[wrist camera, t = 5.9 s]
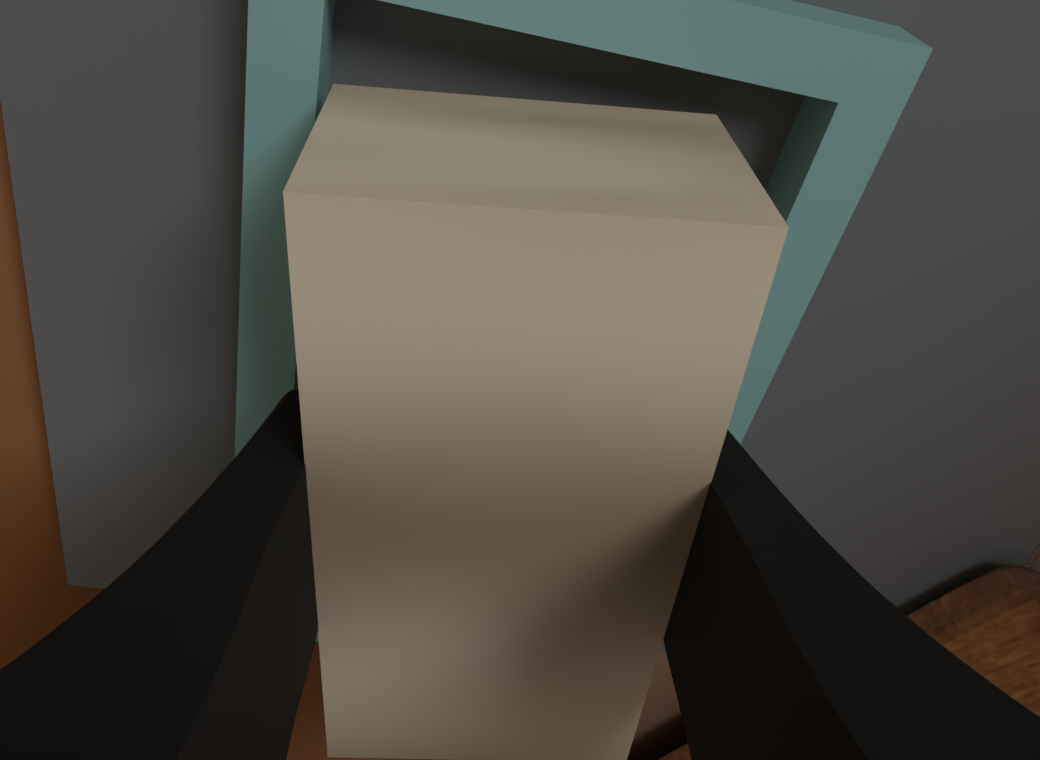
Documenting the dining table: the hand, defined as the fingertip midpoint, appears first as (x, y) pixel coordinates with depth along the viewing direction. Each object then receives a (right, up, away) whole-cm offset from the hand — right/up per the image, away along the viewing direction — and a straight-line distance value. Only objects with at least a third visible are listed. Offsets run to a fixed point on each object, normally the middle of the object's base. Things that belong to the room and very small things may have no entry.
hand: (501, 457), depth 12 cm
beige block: (0, +1, +1) cm, 1 cm away
